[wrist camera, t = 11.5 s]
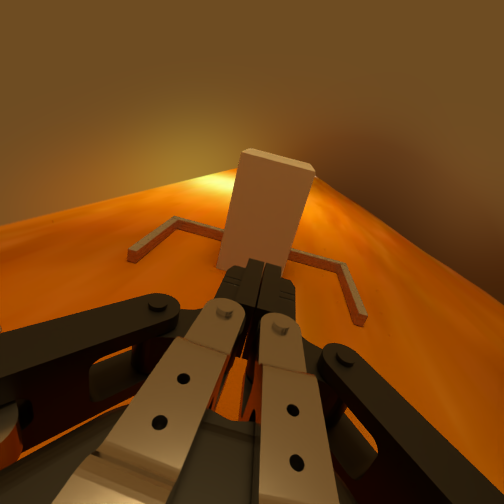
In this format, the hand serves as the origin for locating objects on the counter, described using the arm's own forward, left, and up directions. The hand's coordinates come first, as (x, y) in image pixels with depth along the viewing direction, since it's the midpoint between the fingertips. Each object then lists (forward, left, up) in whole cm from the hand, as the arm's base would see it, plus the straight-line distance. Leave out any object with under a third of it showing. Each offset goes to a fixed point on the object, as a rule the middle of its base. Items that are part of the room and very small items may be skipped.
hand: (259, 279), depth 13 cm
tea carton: (+1, -24, -11) cm, 26 cm away
